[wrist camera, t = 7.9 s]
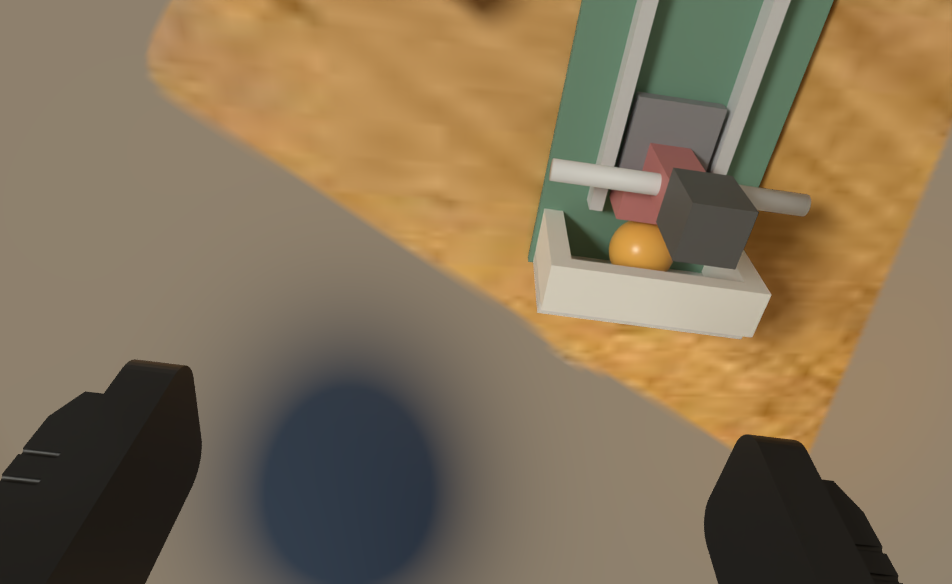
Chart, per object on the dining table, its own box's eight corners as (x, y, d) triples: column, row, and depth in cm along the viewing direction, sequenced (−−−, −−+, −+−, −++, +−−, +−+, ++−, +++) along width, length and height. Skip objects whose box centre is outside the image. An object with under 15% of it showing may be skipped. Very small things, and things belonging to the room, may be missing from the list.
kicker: (558, 79, 38) (577, 153, 28) (798, 115, 38) (894, 198, 29) (536, 185, 41) (547, 281, 32) (757, 216, 42) (830, 319, 33)
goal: (544, 208, 42) (551, 265, 37) (734, 234, 43) (771, 294, 37) (533, 260, 45) (538, 322, 39) (714, 285, 45) (746, 349, 39)
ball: (601, 289, 42) (601, 238, 44) (663, 298, 42) (660, 246, 45) (620, 255, 39) (618, 200, 41) (687, 264, 39) (682, 209, 41)
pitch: (607, -124, 33) (613, -123, 32) (860, -83, 34) (879, -79, 32) (528, 257, 45) (529, 272, 44) (715, 282, 46) (724, 298, 44)
